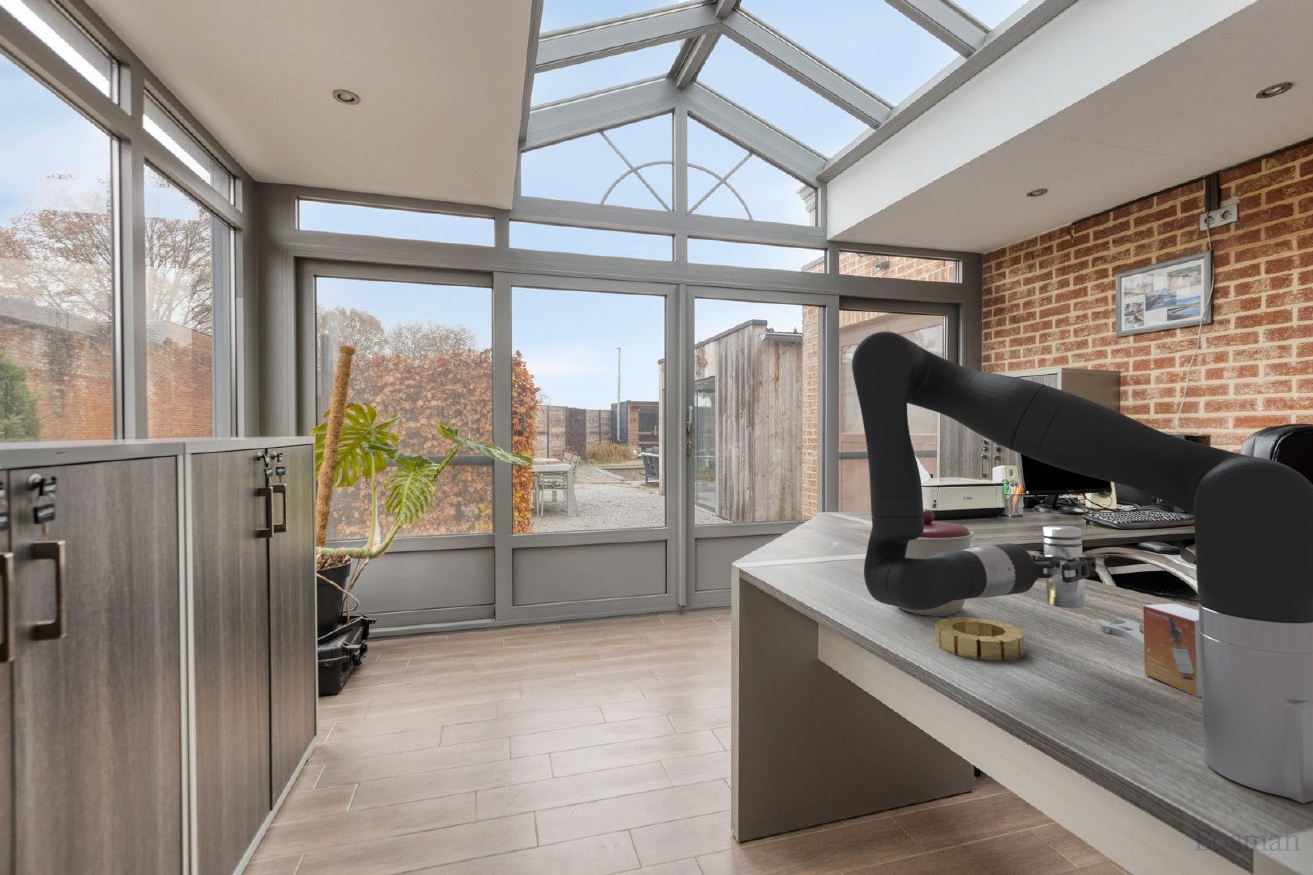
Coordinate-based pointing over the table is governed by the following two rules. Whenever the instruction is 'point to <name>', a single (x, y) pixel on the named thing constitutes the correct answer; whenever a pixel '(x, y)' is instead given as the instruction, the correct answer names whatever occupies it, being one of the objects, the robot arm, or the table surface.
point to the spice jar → (1068, 546)
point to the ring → (980, 638)
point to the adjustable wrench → (1123, 630)
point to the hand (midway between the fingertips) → (1075, 560)
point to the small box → (1173, 646)
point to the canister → (937, 541)
